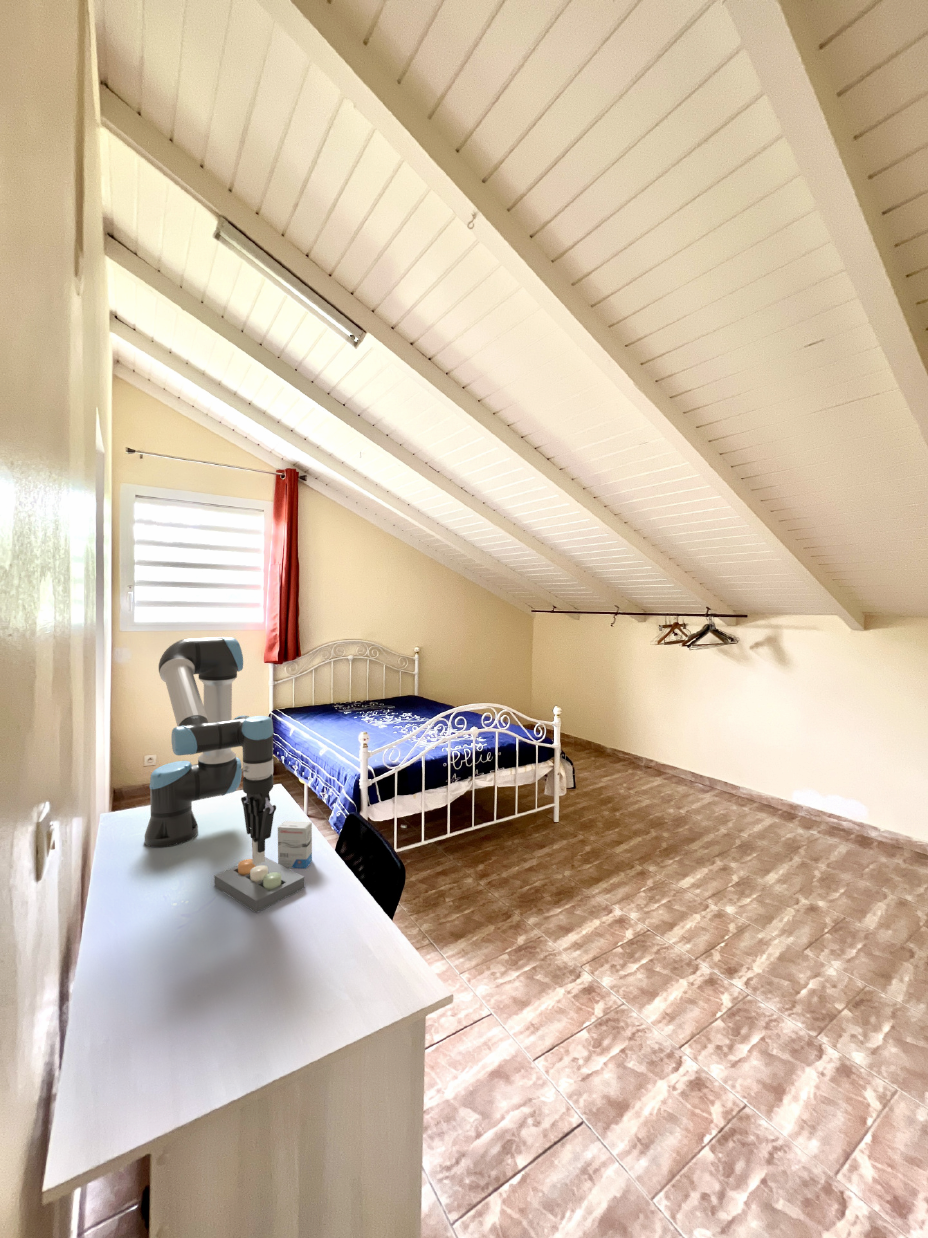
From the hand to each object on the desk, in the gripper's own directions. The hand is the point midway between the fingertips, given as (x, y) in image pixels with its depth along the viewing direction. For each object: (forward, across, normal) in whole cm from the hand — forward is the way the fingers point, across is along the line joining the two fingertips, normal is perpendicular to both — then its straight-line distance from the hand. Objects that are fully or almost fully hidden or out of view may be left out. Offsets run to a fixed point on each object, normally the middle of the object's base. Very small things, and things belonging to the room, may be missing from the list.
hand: (258, 862), depth 140 cm
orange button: (+6, -6, 0) cm, 8 cm away
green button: (+6, +6, 0) cm, 9 cm away
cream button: (+6, 0, 0) cm, 6 cm away
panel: (+7, 0, 0) cm, 7 cm away
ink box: (+7, -2, +13) cm, 15 cm away
